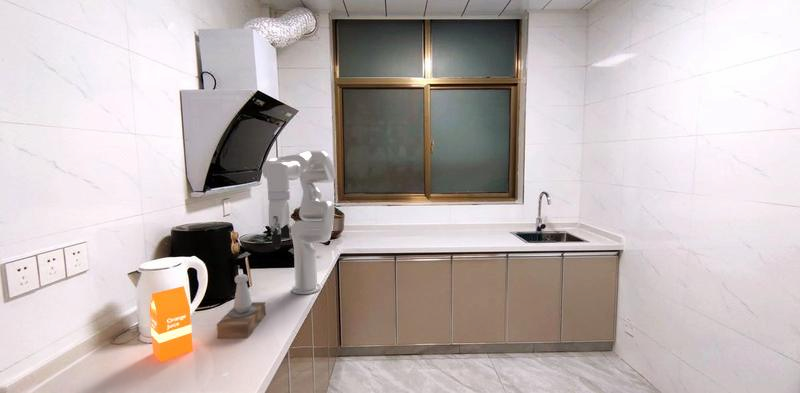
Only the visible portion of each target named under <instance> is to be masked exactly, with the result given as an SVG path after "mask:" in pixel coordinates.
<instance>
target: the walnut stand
mask: <svg viewBox="0 0 800 393" xmlns="http://www.w3.org/2000/svg"><path fill="white" fill-rule="evenodd" d="M251 302H252V301H251ZM266 314H267V313H266V301H263V302H262V301H261V302H260V301H258V302H257V301H254V302H252V304H251V307H250V309H249V311H248V312H244V313H237V311H236V309H235V307H234V306H233V307H232V308H231V309H230V310H229V311H228V313H226V314H225V315H224V316H223V317H222V318H221V319H220V320H219V321H218V322H217V323H216V333H217V334H216V335H217V336H216V337H217V339H220V340H221V339H248V338H249V337H250V336H251V335H252V334H253V332H254V331H255V329H256V328H257V327H258V326H259V324H260V323H261V322H262V320H264V318H265V316H266Z"/></svg>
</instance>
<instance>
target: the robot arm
mask: <svg viewBox="0 0 800 393" xmlns="http://www.w3.org/2000/svg"><path fill="white" fill-rule="evenodd" d="M334 166H335V165H334V163H333V161H332V159H331V157H330V155H329V154H328V153H327V152H326V151H325V150H303V151H300V152H298V153H295V154H290V155H285V156H279V157H274V158H270V159H267V160H266V161H264V163H263V165H262V168H261V172H262V176H263V177H264V178H265V179H266V182H267V184H266V185H267V197H268V199H267V200H268V202H269V203H268V227H269V228H270V231H271V244H272V246H281V245H282V244H283V242H282V239H290V237H291V239H292V244H293V252H294V256H293V258H294V260H293V261H294V279H295V280H294V282H295V284H294V285H293V286H292V288H291V292H292V293H293V294H295V295H296V294H297V295H312V294H315V293H317V292H319V291H320V290H321V284H319V283H318V275H317V274H318V271H317V270H318V268H317V250H316V247H315V246H314V244H313V243H327V242H328V241H330V240H331V236H332V232H333V226H334V221H335V213H336V212H335V205H334V203H333V202H332V201H330V200H322V192H321V191H320V189H319V188H318V187H317V186H316V185H315V184H322V183H323V184H324V183H325V184H330V183H333V182H334V181H335V179H336V176H337V174H336V170H335V167H334ZM297 179H299V181H300V182H299V183H300V186H301V188H302V199H301V202H300V207H299V213H298V215H299V218H300V219H301V220H297V221H295V222H294V223H293V224H292V225H291V228H290V206H289V205H290V204H289V201H290V198H291V197H290V196H291V195H290V181H295V180H297ZM314 183H315V184H314ZM290 232H291V235H290Z"/></svg>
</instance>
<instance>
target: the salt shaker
mask: <svg viewBox="0 0 800 393" xmlns="http://www.w3.org/2000/svg"><path fill="white" fill-rule="evenodd" d="M248 281H249V276H248V275H247V274H245V273H244V274H243V273H242V274H238V275H236V276H235V277H234V283H235V284H236V290H235V296H234V302H233V307H235V309H236V311H237V313H244V312H248V311H249V309H250V307H251V304H252V299H251V295H250V291H249V287H248V283H247V282H248Z"/></svg>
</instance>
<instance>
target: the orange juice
mask: <svg viewBox="0 0 800 393" xmlns="http://www.w3.org/2000/svg"><path fill="white" fill-rule="evenodd" d="M149 318H150V320H149V321H150V333H151V334H150V335H151V343H152V353H153V356H155V358H156V359H157V360H158V361H159V362H160V363H162V362H166V361H169V360H172V359H175V358H177V357H180V356H182V355H185V354H188V353H191V352H193V351H194V350H193V349H194V348H193V337H192V336H193V335H192V330H193V329H192V321H191V320H192V319H191V306H190V303H189V299H188V296H187V293H186V290H185V286H184V285H181V286H179V287H175V288H171V289H170V288H169V289H166V290H163V291H158V292H154V293H151V299H150V305H149Z"/></svg>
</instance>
